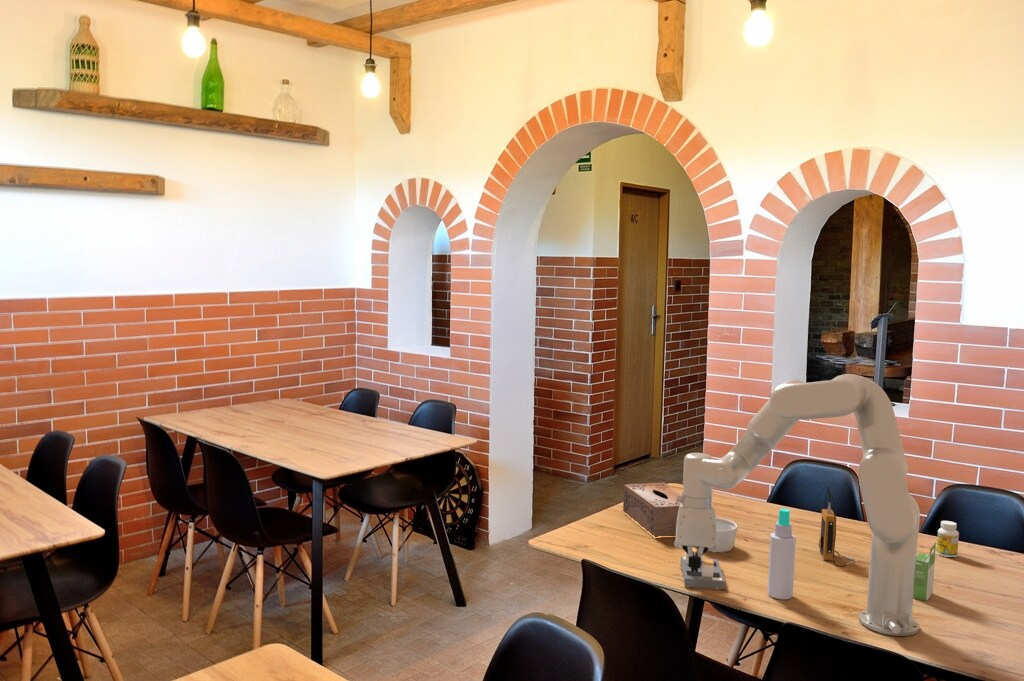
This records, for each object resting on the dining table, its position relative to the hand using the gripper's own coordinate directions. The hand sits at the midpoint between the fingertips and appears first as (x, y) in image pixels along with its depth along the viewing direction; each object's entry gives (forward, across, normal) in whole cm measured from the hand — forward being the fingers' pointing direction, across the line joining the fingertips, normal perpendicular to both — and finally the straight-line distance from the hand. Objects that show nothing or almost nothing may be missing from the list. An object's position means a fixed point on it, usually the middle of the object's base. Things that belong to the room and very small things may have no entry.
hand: (694, 569), depth 213 cm
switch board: (+3, +2, +4) cm, 6 cm away
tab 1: (+3, 0, +8) cm, 9 cm away
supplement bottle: (+3, +75, +35) cm, 83 cm away
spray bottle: (+3, +21, -5) cm, 22 cm away
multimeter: (+3, +43, +26) cm, 50 cm away
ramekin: (+4, +8, +29) cm, 30 cm away
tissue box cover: (+4, -7, +47) cm, 48 cm away
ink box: (+3, +57, +2) cm, 57 cm away
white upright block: (+3, +3, 0) cm, 5 cm away
